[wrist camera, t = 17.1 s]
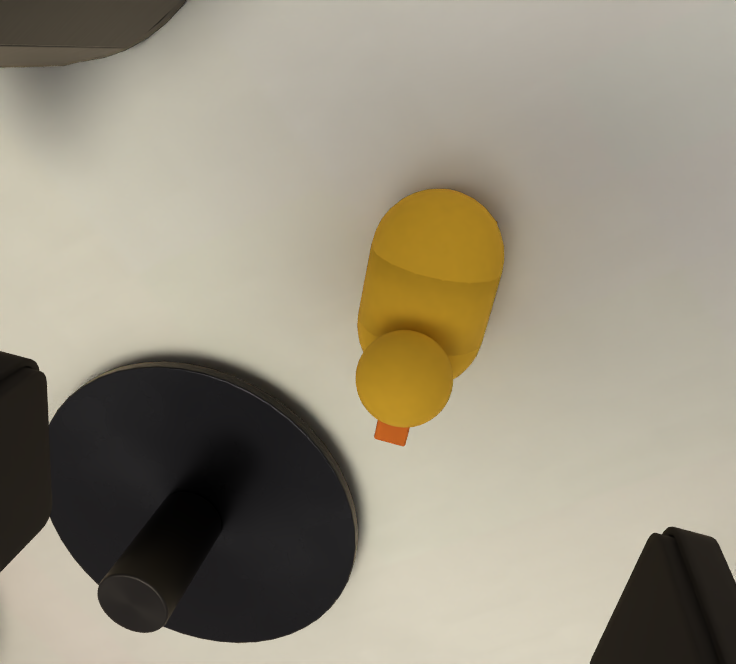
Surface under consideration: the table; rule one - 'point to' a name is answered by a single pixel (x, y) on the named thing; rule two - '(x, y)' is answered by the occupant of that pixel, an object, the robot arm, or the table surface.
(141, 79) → the table surface
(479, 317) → the duck
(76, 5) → the pan
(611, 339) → the table surface
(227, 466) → the pan lid
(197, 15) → the table surface
